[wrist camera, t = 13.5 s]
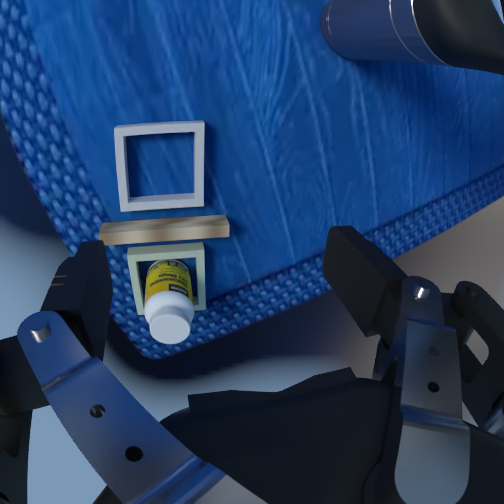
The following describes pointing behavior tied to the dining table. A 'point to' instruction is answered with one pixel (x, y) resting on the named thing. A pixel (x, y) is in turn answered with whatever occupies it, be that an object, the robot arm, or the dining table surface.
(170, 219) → the edge strip
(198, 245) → the keeper
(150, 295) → the pill bottle
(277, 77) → the dining table surface
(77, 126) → the dining table surface
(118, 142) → the keeper
